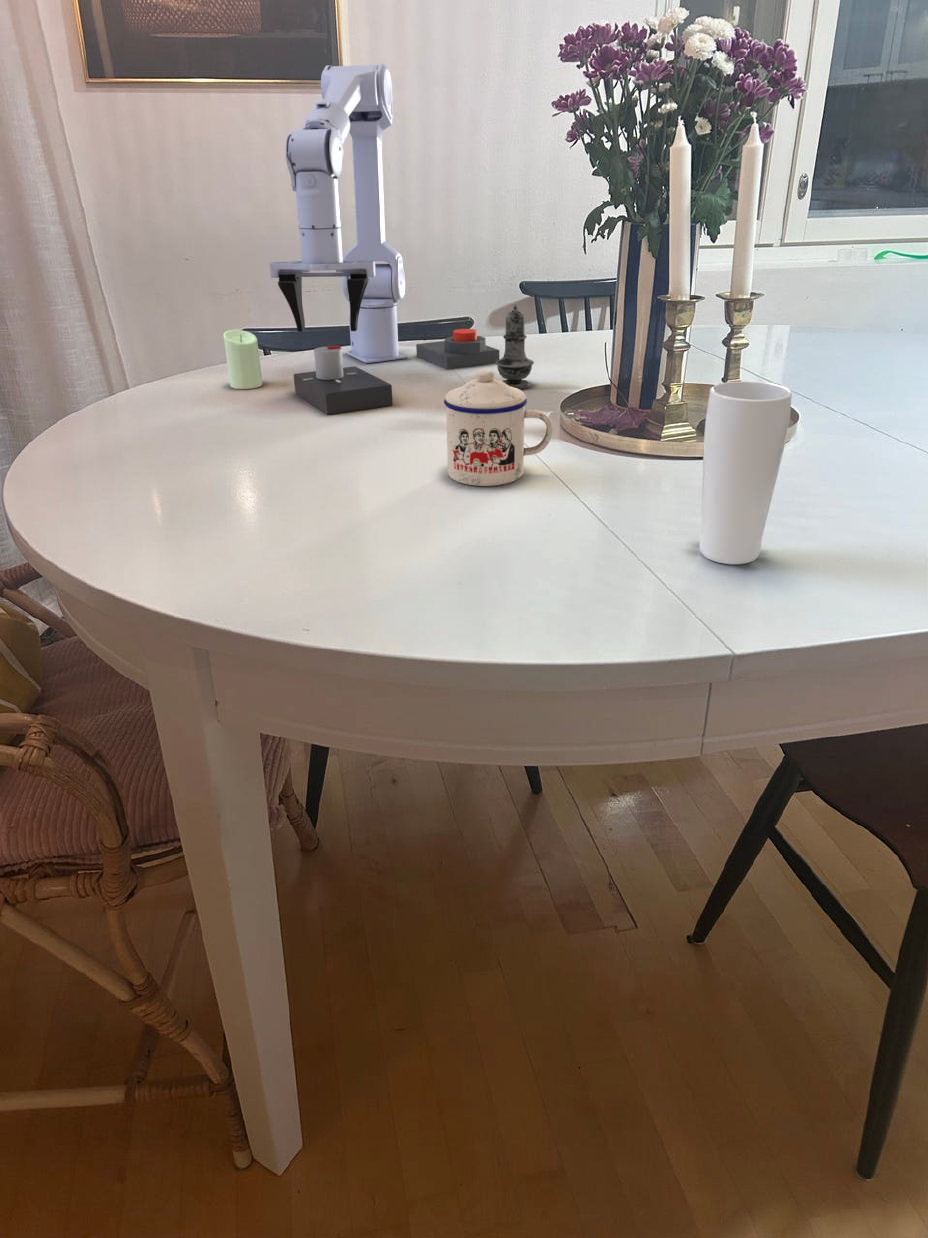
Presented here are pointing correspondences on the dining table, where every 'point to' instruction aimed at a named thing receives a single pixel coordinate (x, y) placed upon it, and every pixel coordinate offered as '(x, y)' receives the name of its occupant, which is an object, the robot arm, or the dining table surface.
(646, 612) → the dining table surface
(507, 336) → the salt shaker
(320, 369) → the knob
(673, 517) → the dining table surface
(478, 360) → the grey button base
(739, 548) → the drinking glass
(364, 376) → the panel
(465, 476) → the teacup with lid
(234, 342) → the candle
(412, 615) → the dining table surface
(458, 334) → the power button
